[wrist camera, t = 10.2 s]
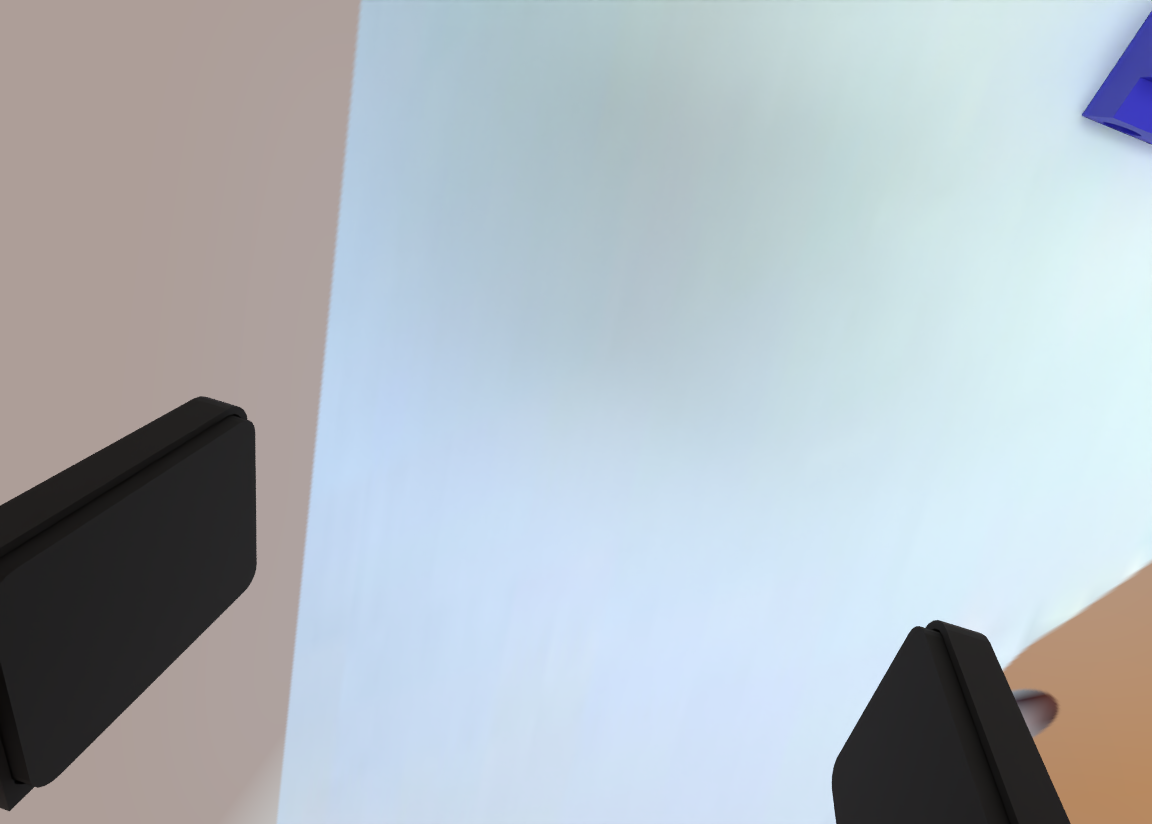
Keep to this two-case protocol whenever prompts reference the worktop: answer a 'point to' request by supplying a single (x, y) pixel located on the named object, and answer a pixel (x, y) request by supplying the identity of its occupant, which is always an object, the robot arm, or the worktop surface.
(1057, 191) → the worktop surface
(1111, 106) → the cable clip
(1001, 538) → the worktop surface
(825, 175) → the worktop surface
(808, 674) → the worktop surface
